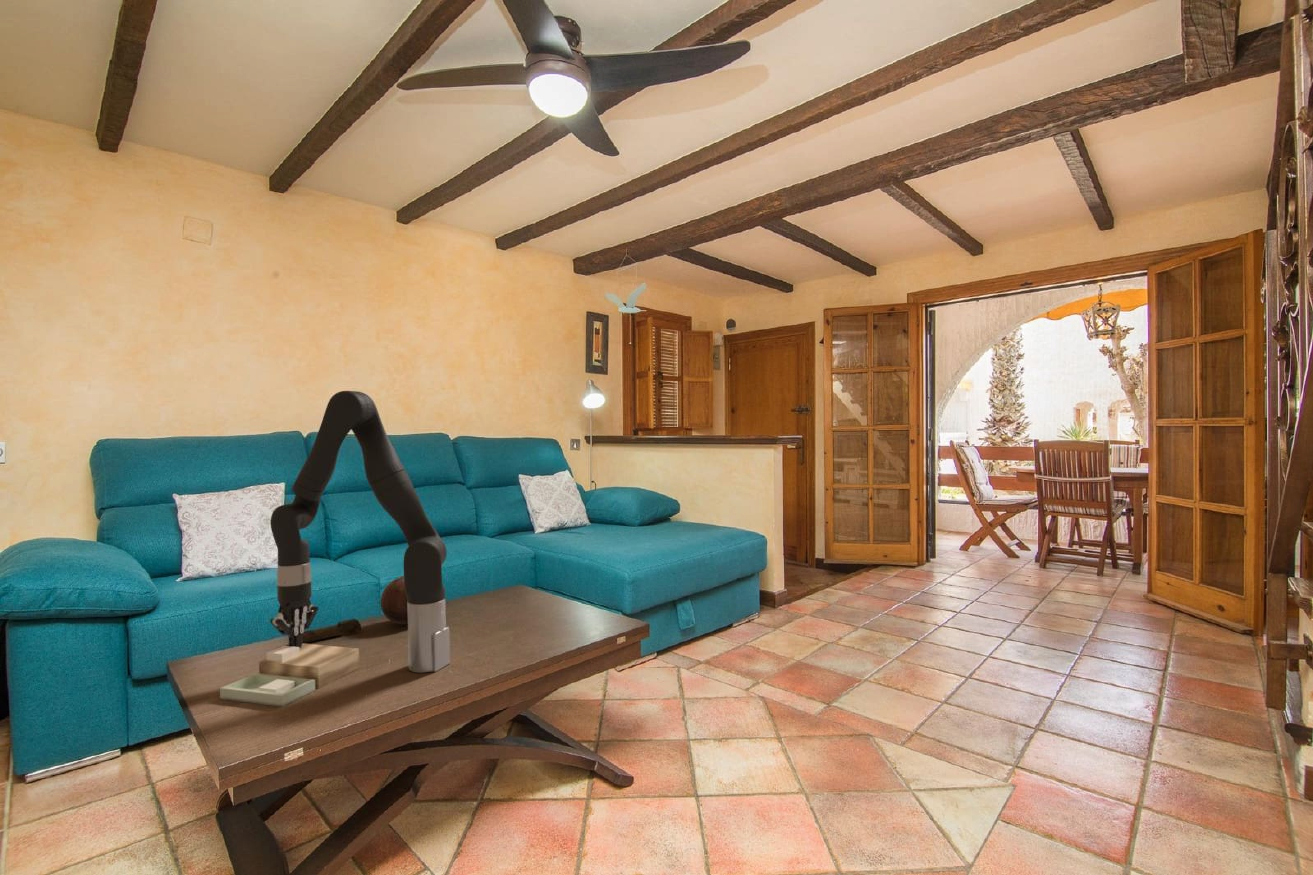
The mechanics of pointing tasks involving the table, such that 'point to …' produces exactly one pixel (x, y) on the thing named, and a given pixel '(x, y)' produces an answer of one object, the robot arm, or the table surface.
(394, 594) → the wooden sphere
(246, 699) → the tray
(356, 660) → the light wood flat block
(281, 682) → the tile near
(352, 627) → the hand tool
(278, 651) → the tile far
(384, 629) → the table surface
